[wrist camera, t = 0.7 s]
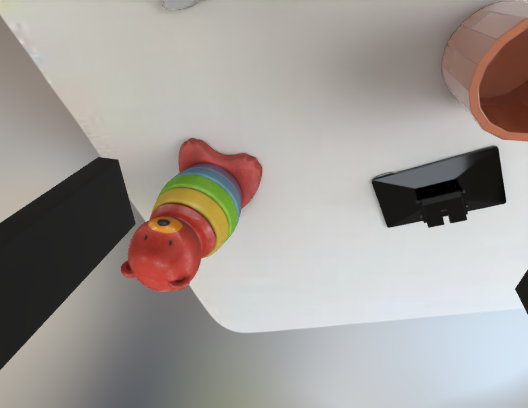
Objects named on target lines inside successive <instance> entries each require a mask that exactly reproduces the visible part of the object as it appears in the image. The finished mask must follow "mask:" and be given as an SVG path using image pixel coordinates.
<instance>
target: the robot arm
mask: <svg viewBox="0 0 528 408" xmlns="http://www.w3.org/2000/svg"><path fill="white" fill-rule="evenodd" d="M134 225H135V220H134V216H133V212H132V209H131V205H130V202H129V198H128V194H127V190H126V187H125V183H124V179H123V176H122V172H121V168H120V165H119V161H118V160H116V159H109V158H101V157H98V158H97V159H95V160H94V161H92V162H90V163H89V164H88V165H86V166H85V167H83V168H82V169H80V170H79V171H77V172H76V173H74V174H73V175H71V176H70V177H68V178H67V179H65V180H64V181H62V182H61V183H59V184H58V185H56V186H55V187H53V188H52V189H51V190H49V191H47V192H46V193H44V194H43V195H41V196H40V197H38V198H37V199H35V200H34V201H32V202H31V203H29V204H28V205H26V206H25V207H23V208H22V209H20V210H19V211H17V212H16V213H15V214H13V215H12V216H10V217H9V218H7V219H5V220H4V221H3V222H1V223H0V370H1V369H2V368H3V367H4V365H5V364H6V363H7V362H8V361H9V360H10V359H11V358H12V356H14V355H15V354H16V353H17V351H18V350H19V349H20V348H21V347H22V346H23V345H24V344H25V343H26V342H27V341H28V339H29V338H30V337H31V336H32V335H33V334H34V333H35V332H36V331H37V330H38V329H39V328H40V327H41V326H42V324H43V323H44V322H45V321H46V320H47V319H48V318H49V317H50V316H51V315H52V314H53V313H54V311H55V310H56V309H57V308H58V307H59V306H60V305H61V304H62V303H63V302H64V301H65V300H66V298H67V297H68V296H69V295H70V294H71V293H72V292H73V291H74V290H75V289H76V288H77V287H78V285H80V283H81V282H82V281H83V280H84V279H85V278H86V277H87V276H88V275H89V274H90V273H91V271H92V270H93V269H94V268H95V267H96V266H97V265H98V264H99V263H100V262H101V261H102V260H103V258H104V257H105V256H106V255H107V254H108V253H109V252H110V251H111V250H112V249H113V248H114V247H115V246H116V244H117V243H118V242H119V241H120V240H121V239H122V238H123V237H124V236H125V235H126V234H127V233H128V232H129V230H130V229H131V228H132V227H133V226H134ZM515 290H516V292H517V294H518V296H519V298H520V300H521V302H522V304H523V306H524V308H525V310H526V311H527V314H528V270H527V272H526V273H525V275H524V276H523V278H522V279H521V281H520V282H519V284H518V285H517V287H516V288H515Z"/></svg>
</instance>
